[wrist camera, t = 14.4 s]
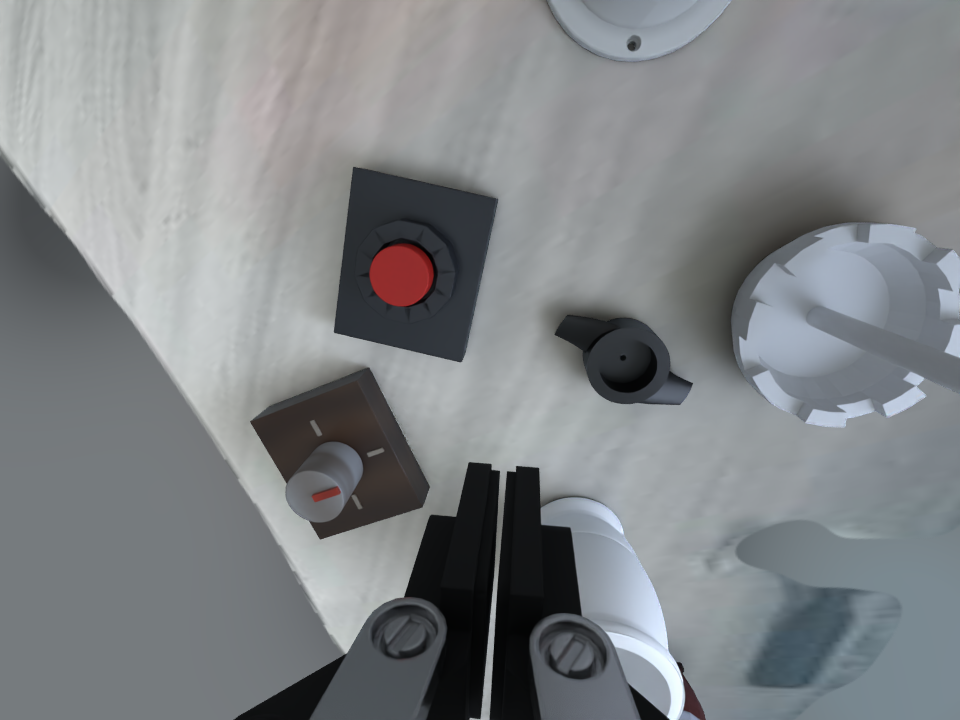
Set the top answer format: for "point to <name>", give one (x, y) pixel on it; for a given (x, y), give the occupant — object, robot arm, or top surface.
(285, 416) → the dial panel
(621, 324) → the black wing nut
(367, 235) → the button block
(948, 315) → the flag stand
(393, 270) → the button
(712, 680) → the top surface
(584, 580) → the jar
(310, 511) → the dial
